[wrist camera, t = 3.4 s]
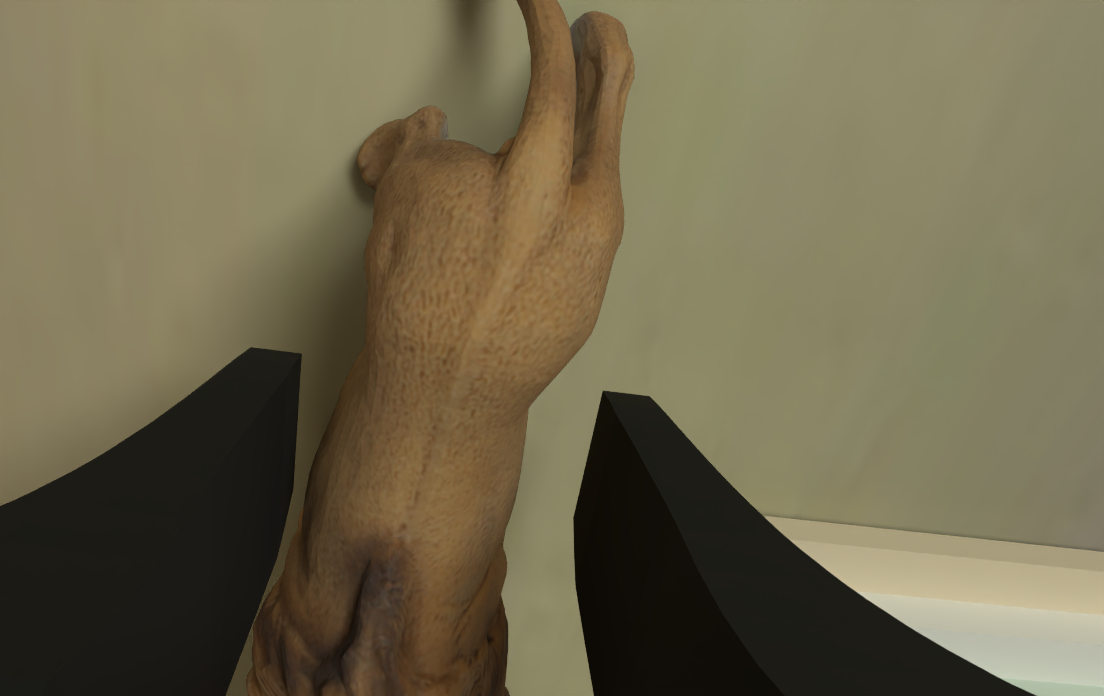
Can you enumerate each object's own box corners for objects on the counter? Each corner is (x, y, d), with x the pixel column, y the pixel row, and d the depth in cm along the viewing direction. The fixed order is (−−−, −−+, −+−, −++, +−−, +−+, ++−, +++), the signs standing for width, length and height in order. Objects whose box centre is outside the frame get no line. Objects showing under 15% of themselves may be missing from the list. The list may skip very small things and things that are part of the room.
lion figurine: (551, 603, 18) (578, 1040, 11) (313, 590, 17) (200, 1035, 11) (655, -109, 12) (824, -39, 6) (311, -150, 12) (81, -128, 5)
